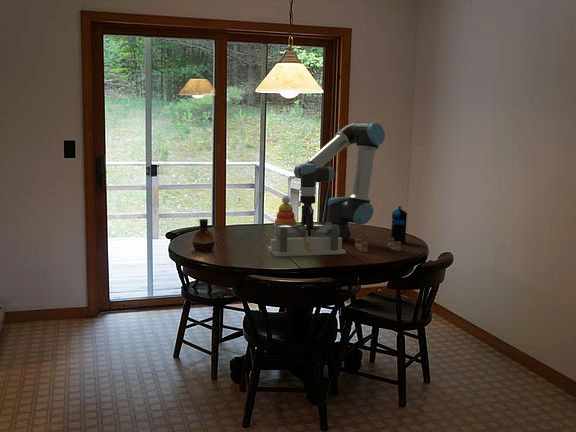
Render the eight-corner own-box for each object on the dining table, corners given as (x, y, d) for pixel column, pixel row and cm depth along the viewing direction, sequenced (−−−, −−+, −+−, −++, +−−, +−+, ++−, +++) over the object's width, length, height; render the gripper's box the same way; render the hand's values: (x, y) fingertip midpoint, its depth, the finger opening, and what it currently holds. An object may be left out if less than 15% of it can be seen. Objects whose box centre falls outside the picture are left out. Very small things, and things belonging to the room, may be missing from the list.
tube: (276, 239, 301) (277, 227, 300) (274, 236, 307) (274, 224, 306) (339, 237, 309) (339, 225, 308) (335, 234, 315) (335, 223, 314)
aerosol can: (393, 240, 343) (395, 204, 339) (407, 241, 338) (409, 205, 335) (388, 242, 336) (389, 206, 332) (402, 244, 331) (404, 207, 328)
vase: (219, 249, 309) (219, 219, 306) (205, 254, 299) (205, 222, 297) (201, 247, 314) (201, 217, 312) (187, 251, 305) (187, 220, 302)
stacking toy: (294, 230, 364) (294, 197, 361) (270, 228, 367) (271, 196, 364) (299, 226, 378) (300, 194, 375) (276, 224, 381) (277, 193, 378)
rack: (354, 247, 321) (355, 239, 320) (392, 246, 326) (393, 238, 325) (361, 251, 311) (362, 243, 310) (400, 250, 316) (400, 242, 315)
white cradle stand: (267, 249, 312) (268, 222, 310) (335, 247, 321) (336, 221, 319) (274, 256, 297) (275, 228, 295) (345, 253, 306) (346, 227, 304)
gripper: (295, 192, 313) (294, 237, 317) (305, 197, 295) (304, 245, 298) (309, 192, 314) (308, 237, 318) (320, 197, 296) (319, 244, 300)
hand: (306, 241), depth 308 cm, fingers closed on tube, 6 cm apart
